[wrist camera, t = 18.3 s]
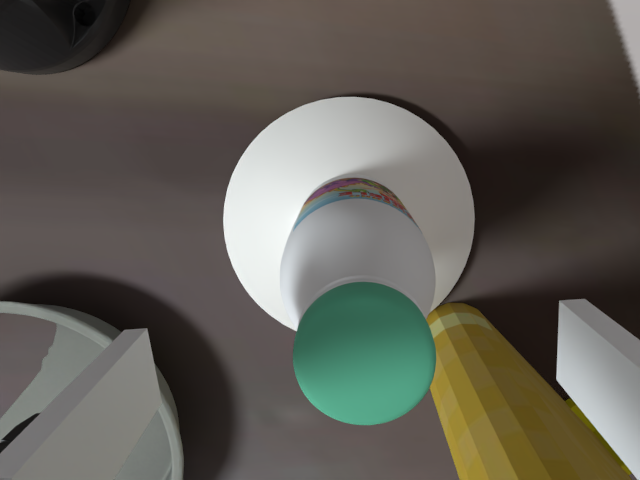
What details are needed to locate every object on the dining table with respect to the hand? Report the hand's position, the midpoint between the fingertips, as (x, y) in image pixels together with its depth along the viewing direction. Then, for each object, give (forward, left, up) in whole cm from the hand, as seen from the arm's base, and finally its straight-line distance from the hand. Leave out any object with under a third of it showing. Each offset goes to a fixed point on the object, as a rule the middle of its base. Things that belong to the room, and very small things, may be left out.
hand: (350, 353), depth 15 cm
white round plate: (0, 0, -21) cm, 21 cm away
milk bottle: (0, 0, -20) cm, 20 cm away
